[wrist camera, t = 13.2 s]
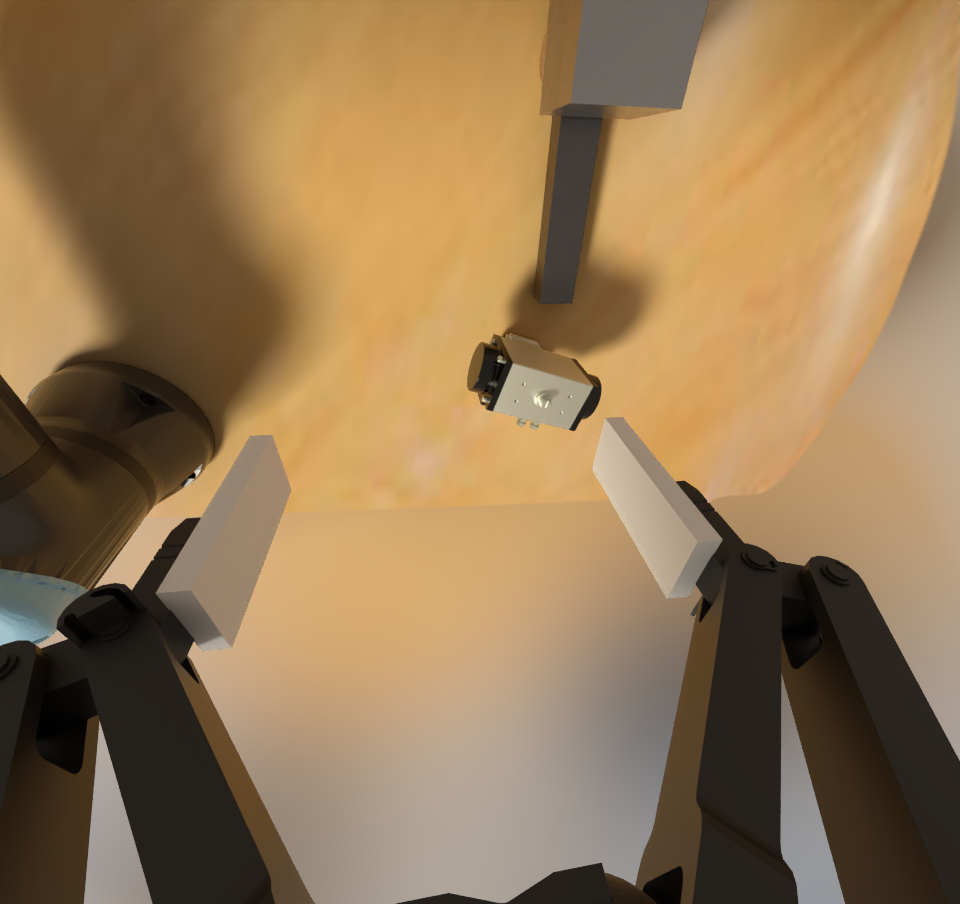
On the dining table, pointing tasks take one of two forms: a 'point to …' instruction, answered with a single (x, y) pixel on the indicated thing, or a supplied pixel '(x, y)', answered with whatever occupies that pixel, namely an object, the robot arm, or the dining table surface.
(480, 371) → the pneumatic valve
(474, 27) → the dining table surface
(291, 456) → the dining table surface
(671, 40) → the gray cube
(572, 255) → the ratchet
